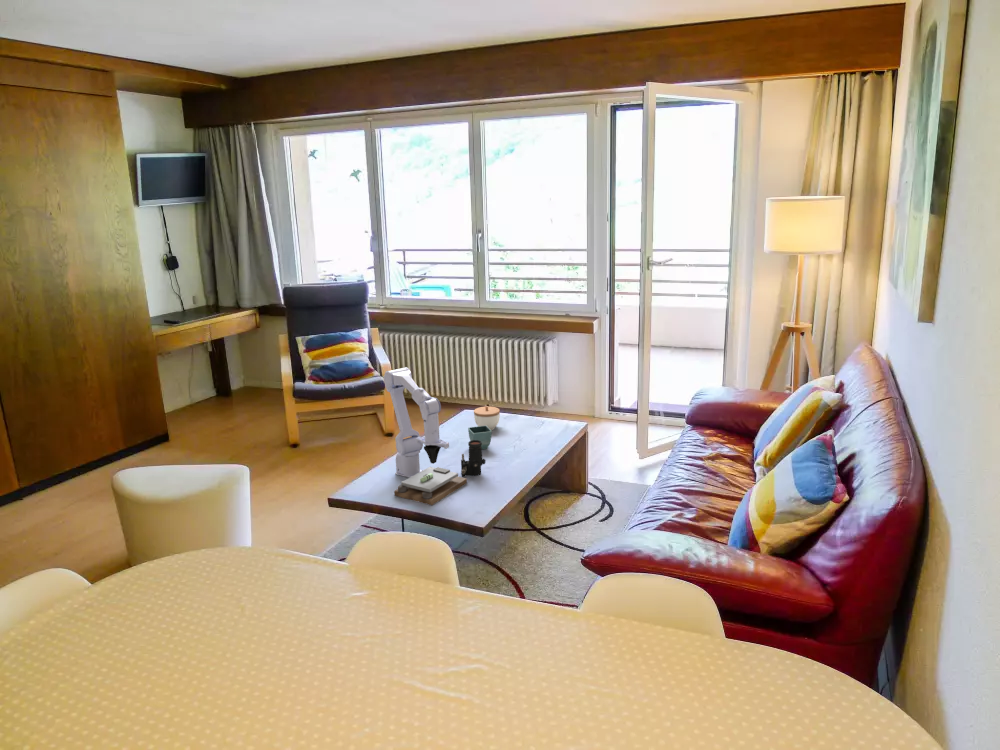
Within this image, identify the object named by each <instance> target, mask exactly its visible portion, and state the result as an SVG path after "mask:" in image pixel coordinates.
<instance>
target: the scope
mask: <svg viewBox="0 0 1000 750" xmlns="http://www.w3.org/2000/svg"><path fill="white" fill-rule="evenodd" d="M467 443H468V460H466V459H465V454H464V453H461V460H460V465H461V466H460V467H461V470H460V472H461V477H462V478H465V477H468V476H469V477H470V476H471V477H472V476H473V477H477V476H478V477H479V476H481V475H482V466H483V465H485V464H486V459H485V458H483V449H482V447H481V445H482V442H481V441H479V440H472V441H470V440H469V441H468V442H467Z"/></svg>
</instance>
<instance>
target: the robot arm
mask: <svg viewBox="0 0 1000 750" xmlns="http://www.w3.org/2000/svg"><path fill="white" fill-rule="evenodd" d="M383 382H384V385H385V389H386V392H387V393H389V394H390V398H391V402H392V406H393V410H394V414H395V417H396V421H397V424H398V428H399V433H398V434H397V435H396V437H395V438H394V439H395V448H396V452H397V454H396V456H395V467H396V468H395V469H396V472H395V475H397V476H402V477H405V478H410V477H412V476H414V475H416V474H417V473H419V472H421V471H423V470H424V469H421V466H420V465H421V464H420V454H421V450H422V449H423V450H424V451H425V452H426V454H427V457H428V458H429V462H430V464H435V463H437V460H438V456H439V452H440V451H441V448H444V450H446V449H449V448H450V443H449V442H447V441H445V440H442V439H440V423H439V413H440V412H441V410H442V405H441V402H440V400H439V399H438V398H437V397H433V396H431V395H430V393H428V392H427V391H426V390H425V388H424V387H419V386H418V385H417V383H416V381H415V380H414V379H413V376H412V372H411V370H410V368H409V367H407V366H405V367H401V368H397V369H393V370H386V371H385V372H384V375H383ZM405 389H406V390H408V392H409V393H411V398H412V400H413V401H414V402H415V403H416V404H417V405H418V406H419V411H420V414H421V419H422V420H423V430H424V431H423V432H424V436H421V435H420V433H419V431H417V430H416V429H413V427H412V423H411V418H410V416H409V412H408V408H407V403H406V400H405V396H404V391H405ZM407 437H408V438H407ZM424 445H425V446H424Z"/></svg>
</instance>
